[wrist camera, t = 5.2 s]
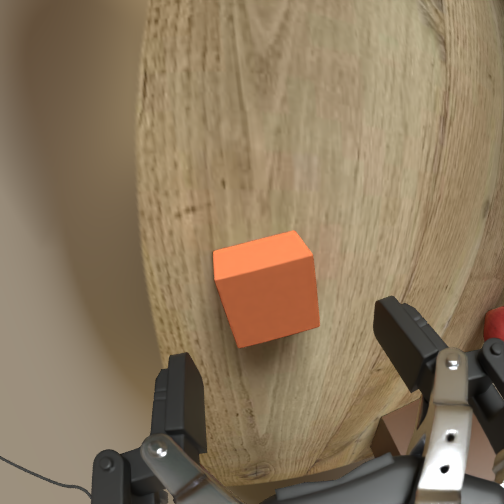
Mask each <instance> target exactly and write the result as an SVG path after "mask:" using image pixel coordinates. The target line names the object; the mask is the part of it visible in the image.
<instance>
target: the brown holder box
mask: <svg viewBox="0 0 504 504" xmlns="http://www.w3.org/2000/svg"><path fill="white" fill-rule="evenodd" d="M419 402H420V398H419V399H417V400H415V401H414V402H412V403H410V404H408V405H406V406H404V407H402V408H400V409H398V410H395V411H393V412H391V413H389V414H387V415H385V416H382V417H381V420H380V423H379V426H378V428H377V431H376V434H375V436H374V439H373V441H372V444H371V446H370V448H371V450H372V452H373V455H374V457H375V458H377V457H379V456H381V455H384V454H386V453H388V452H391V454H392V456H398V455H406V452H407V448H408V445H409V443H410V440H411V438H412V435H413V432H414V428H415V423H416V418H417V413H418V408H419ZM495 456H496V454H495V452H494V450H493V448H492V446H491V444H490V442H489V440H488V438H487V436H486V435H485V433H484V431H483V429H482V427H481V425H480V423H479V422H478V420H477V418H476V416H475V414H474V413H473V417H472V428H471V437H470V445H469V452H468V458H467V464H466V469H465V473H466V474H469V475H472V476H475V477H479V478H482V479H486V480H490V481H493V482H494V480H495V474H494V473H493V471H492V467H493V465H494V459H495Z"/></svg>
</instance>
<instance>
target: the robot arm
mask: <svg viewBox="0 0 504 504" xmlns="http://www.w3.org/2000/svg"><path fill="white" fill-rule="evenodd" d="M373 331H374V334H375V337H376V339H377V341H378V342H379V344H380V345H381V347H382V348H383V350H384V351H385V353H386V354H387V356H388V357H389V359H390V361H391V362H392V364H393V365H394V367H395V368H396V370H397V372H398V373H399V375H400V376H401V378H402V380H403V381H404V383H405V384H406V386H407V388H408V389H409V391H410V392H411V393H412V392H414V391H416V390H418V389H419V390H420V391H421V393H422V394H421V396H420V402H419V408H418V413H417V418H416V423H415V428H414V432H413V435H412V438H411V440H410V443H409V445H408V448H407V452H406V455H398V456H392V454H391V452H388V453H386V454H384V455H381V456H379V457H377V458H375V459H372V460H370V461H367V462H365V463H363V464H362V465H360V466H359V467H357V468H355V469H354V470H352V471H351V472H349V473H348V474H346V475H345V476H343V477H341V478H339V479H337V480H332V481H321V482H306V483H305V482H304V483H301V484H297V485H293V486H289V487H284V488H279V489H275V491H276V494H275V495H273V496H270V497H269V498H267V499H265V500H264V501H262V502H261V503H260V504H504V401H503V399H504V341H503V340H501V339H499V338H489V339H487V340H486V341H485V342H484V344H483V346H482V348H481V349H478V350H474V351H470V352H463V351H462V350H460V349H458V348H455V347H448V346H447V345H446V344H445V342H444V341H443V340H442V339H441V338H440V337H439V335H438V334H437V333H436V332H435V331H434V329H433V328H432V327H431V326H430V325H429V324H427V321H426V320H425V319H424V318H422V316H421V314H420V313H419V312H418V311H417V310H416V309H415V308H414V307H412V306H410V305H408V304H406V303H403V304H400V303H399V302H398V300H397V299H396V298H395V297H394V296H389V297H386V298H383V299H381V300H378V301H376V303H375V311H374V322H373ZM492 383H494V385H495V387H496V388H497V390H498V391H499V392H500V394H501V396H502V397H503V399H502V397H501V396H500V395H499V393H498V391H497V390H496V388H495V387H494V385H493V384H492ZM468 404H469V405H468ZM473 413H474V414H475V416H476V418H477V420H478V422H479V423H480V425H481V427H482V429H483V431H484V433H485V435H486V436H487V438H488V440H489V442H490V444H491V446H492V448H493V450H494V452H495V454H496V456H495V459H494V465H493V467H492V471H493V473H494V474H495V480H494V482H493V481H490V480H486V479H482V478H479V477H475V476H472V475H469V474H466V473H465V469H466V464H467V458H468V452H469V445H470V437H471V428H472V417H473ZM201 453H207V441H206V425H205V406H204V386H203V380H202V377H201V375H200V373H199V371H198V369H197V367H196V366H195V364H194V362H193V360H192V358H191V356H190V355H189V353H187V352H186V353H181V354H176V355H170V357H169V363H168V369H161V371H160V373H159V375H158V376H157V378H156V382H155V393H154V401H153V411H152V422H151V433H150V436H149V437H147V438H146V439H145V440H144V441H143V443H142V445H141V447H139V448H137V449H134V450H131V451H128V452H125V453H122V454H119V453H118V452H116V451H114V450H110V449H108V450H103V451H101V452H100V453H99V454H98V455H97V456H96V457H95V459H94V462H93V474H92V493H91V494H90V493H89V492H88V491H87V490H86V489H84V488H82V487H80V486H76V485H65V484H61V483H58V482H55V481H52V480H50V479H47V478H45V477H43V476H40V475H38V474H36V473H34V472H31V471H29V470H27V469H25V468H23V467H20V466H18V465H16V464H14V463H12V462H10V461H8V460H6V459H5V458H3V457H1V456H0V459H1V460H3V461H5V462H7V463H9V464H11V465H13V466H15V467H17V468H19V469H21V470H23V471H25V472H28V473H30V474H32V475H34V476H36V477H39V478H41V479H43V480H46V481H48V482H50V483H53V484H56V485H59V486H62V487H67V488H77V489H80V490H82V491H84V492H85V493H86V494H87V495H88V496H89V497H90V499H91V504H162V502H161V501H160V497H159V491H161V490H163V489H167V490H168V491H169V492H170V494H171V495H172V496H173V498H174V499H173V501H174V503H175V504H246V503H245V502H244V501H242V500H241V499H240V498H239V497H238V496H236V495H235V494H233V493H232V492H231V491H230V490H229V489H227V488H226V487H225V486H224V485H223V484H222V483H221V482H219V481H218V480H217V479H216V478H215V477H214V476H213V475H212V474H211V473H210V472H209V471H208V470H207V469H205V468H204V467H203V466H202V465H201V464H200V461H199V454H201Z"/></svg>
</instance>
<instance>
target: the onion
mask: <svg viewBox="0 0 504 504" xmlns="http://www.w3.org/2000/svg"><path fill="white" fill-rule="evenodd" d="M483 337H484V342H485V341H486V340H487V339H489V338H499V339H501V340H503V341H504V306H502V307H499V308H496V309H493V310H489V311H488V312H487V313H486V315H485V322H484V334H483Z"/></svg>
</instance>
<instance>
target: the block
mask: <svg viewBox="0 0 504 504" xmlns="http://www.w3.org/2000/svg"><path fill="white" fill-rule="evenodd" d="M213 265H214V281H215V284H216V287H217V290H218V293H219V296H220V299H221V302H222V305H223V308H224V310H225V313H226V316H227V319H228V322H229V325H230V327H231V330H232V333H233V336H234V339H235V341H236V344H237V347H238V348H244V347H248V346H252V345H256V344H260V343H264V342H268V341H271V340H275V339H279V338H282V337H286V336H290V335H293V334H297V333H300V332H303V331H307V330H310V329H313V328H317V327H319V326H320V320H319V308H318V297H317V287H316V277H315V268H314V259H313V254H312V253H311V251H310V250H309V249H308V247H307V246H306V245H305V243H304V242H303V241H302V239H301V238H300V236H299V235H298V234H297V232H296V231H290V232H286V233H282V234H278V235H274V236H270V237H267V238H263V239H259V240H255V241H251V242H247V243H243V244H239V245H235V246H231V247H227V248H224V249H220V250H216V251H213Z"/></svg>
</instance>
